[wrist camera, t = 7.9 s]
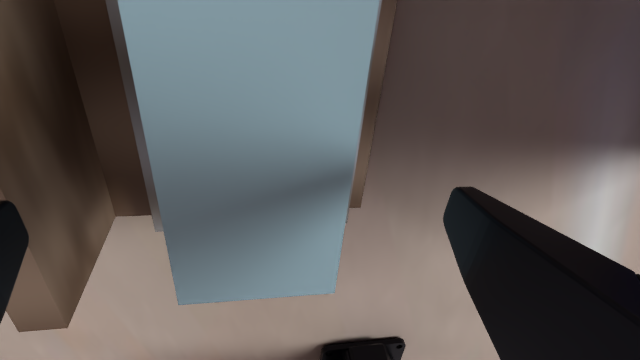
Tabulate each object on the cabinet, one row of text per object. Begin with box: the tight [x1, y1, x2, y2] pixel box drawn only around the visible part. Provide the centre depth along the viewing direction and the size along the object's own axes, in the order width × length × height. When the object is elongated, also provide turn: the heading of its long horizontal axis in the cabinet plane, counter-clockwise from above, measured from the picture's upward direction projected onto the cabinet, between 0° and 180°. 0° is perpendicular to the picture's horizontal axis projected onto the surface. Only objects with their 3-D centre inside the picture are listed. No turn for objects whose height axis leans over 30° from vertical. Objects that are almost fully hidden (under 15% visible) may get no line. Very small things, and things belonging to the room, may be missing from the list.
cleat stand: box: [0, 0, 397, 332], centre depth 13 cm, size 14×14×7 cm
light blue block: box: [118, 0, 379, 305], centre depth 12 cm, size 10×5×7 cm, turn 176°
